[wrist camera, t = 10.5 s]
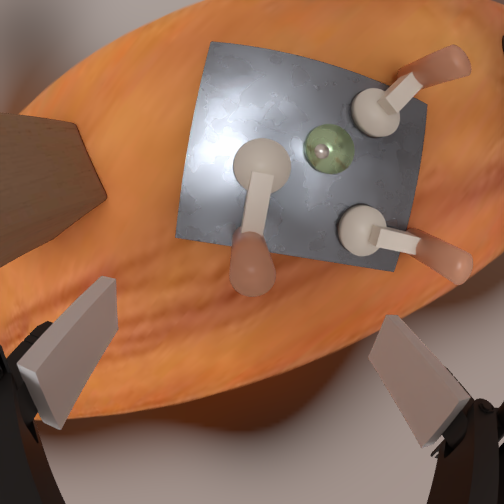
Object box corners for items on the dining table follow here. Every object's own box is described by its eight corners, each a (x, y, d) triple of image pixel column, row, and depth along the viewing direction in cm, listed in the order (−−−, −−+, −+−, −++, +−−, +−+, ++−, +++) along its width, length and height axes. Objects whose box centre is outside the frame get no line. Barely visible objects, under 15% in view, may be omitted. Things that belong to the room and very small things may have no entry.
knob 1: (239, 135, 24) (239, 118, 15) (293, 145, 24) (321, 135, 15) (219, 250, 27) (211, 291, 18) (270, 258, 27) (285, 301, 19)
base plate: (421, 105, 24) (432, 103, 22) (389, 268, 30) (398, 275, 28) (212, 46, 22) (209, 37, 20) (177, 234, 28) (172, 240, 25)
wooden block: (23, 170, 24) (-104, 199, 5) (76, 121, 23) (-72, 106, 4) (52, 239, 27) (-70, 315, 8) (109, 197, 26) (-44, 259, 7)
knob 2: (374, 147, 24) (428, 144, 16) (341, 109, 23) (386, 88, 14) (428, 90, 22) (481, 77, 14) (400, 56, 21) (448, 31, 12)
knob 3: (332, 248, 27) (370, 284, 19) (344, 199, 26) (390, 217, 17) (414, 263, 28) (462, 296, 20) (426, 222, 27) (479, 244, 18)
